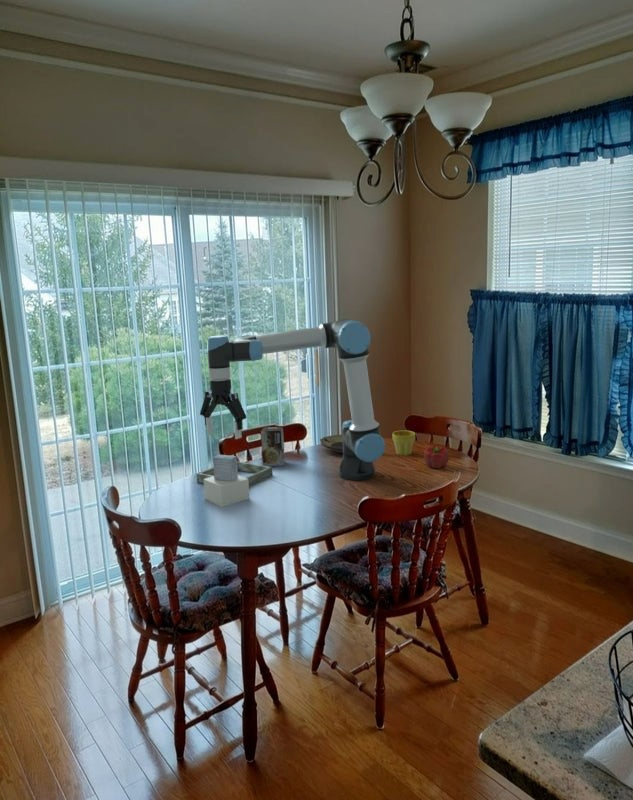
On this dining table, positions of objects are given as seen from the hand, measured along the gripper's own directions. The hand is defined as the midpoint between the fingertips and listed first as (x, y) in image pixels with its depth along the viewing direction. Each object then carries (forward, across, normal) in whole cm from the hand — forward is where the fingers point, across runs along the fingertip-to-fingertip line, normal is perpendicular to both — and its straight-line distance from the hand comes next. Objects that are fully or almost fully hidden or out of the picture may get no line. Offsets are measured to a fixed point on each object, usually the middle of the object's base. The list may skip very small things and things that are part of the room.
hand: (224, 436), depth 221 cm
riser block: (+24, +1, 0) cm, 24 cm away
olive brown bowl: (+25, -9, -76) cm, 80 cm away
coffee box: (+25, +11, -44) cm, 51 cm away
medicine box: (+17, 0, 0) cm, 17 cm away
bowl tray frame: (+24, +13, -20) cm, 34 cm away
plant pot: (+25, -33, -85) cm, 94 cm away
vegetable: (+25, -54, -72) cm, 93 cm away
